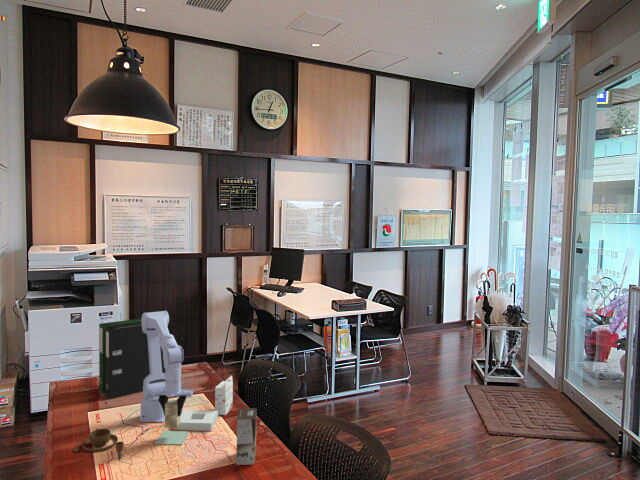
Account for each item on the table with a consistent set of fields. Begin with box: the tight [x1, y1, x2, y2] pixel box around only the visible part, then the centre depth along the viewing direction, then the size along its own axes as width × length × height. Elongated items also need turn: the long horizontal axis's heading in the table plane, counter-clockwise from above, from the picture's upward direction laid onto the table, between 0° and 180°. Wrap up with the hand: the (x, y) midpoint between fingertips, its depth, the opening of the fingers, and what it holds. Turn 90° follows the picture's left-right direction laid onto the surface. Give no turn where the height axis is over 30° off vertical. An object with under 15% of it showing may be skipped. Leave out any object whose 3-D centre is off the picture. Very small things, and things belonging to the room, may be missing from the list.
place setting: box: [73, 428, 124, 460], centre depth 170 cm, size 18×20×6 cm
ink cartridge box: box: [214, 375, 234, 416], centre depth 205 cm, size 9×5×15 cm, turn 169°
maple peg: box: [164, 399, 181, 429], centre depth 179 cm, size 4×4×9 cm
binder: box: [98, 318, 165, 401], centre depth 228 cm, size 27×15×32 cm, turn 132°
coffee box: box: [235, 407, 258, 466], centre depth 166 cm, size 9×6×16 cm
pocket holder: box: [175, 409, 219, 432], centre depth 192 cm, size 14×12×3 cm
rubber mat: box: [154, 430, 190, 446], centre depth 179 cm, size 10×10×1 cm
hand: (172, 415), depth 179 cm, fingers closed on maple peg, 4 cm apart
